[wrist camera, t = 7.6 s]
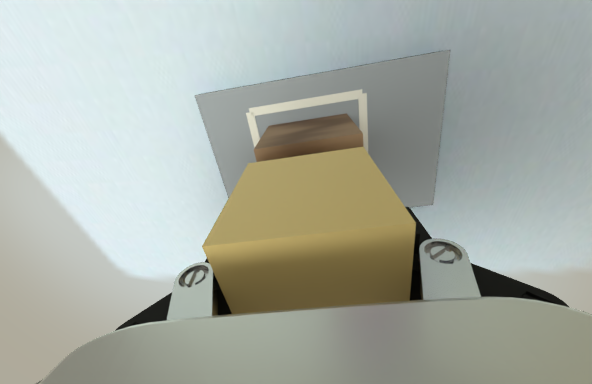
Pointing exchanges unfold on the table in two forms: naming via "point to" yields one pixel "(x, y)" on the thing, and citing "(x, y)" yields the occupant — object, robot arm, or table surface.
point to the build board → (340, 100)
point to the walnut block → (308, 137)
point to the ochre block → (312, 235)
